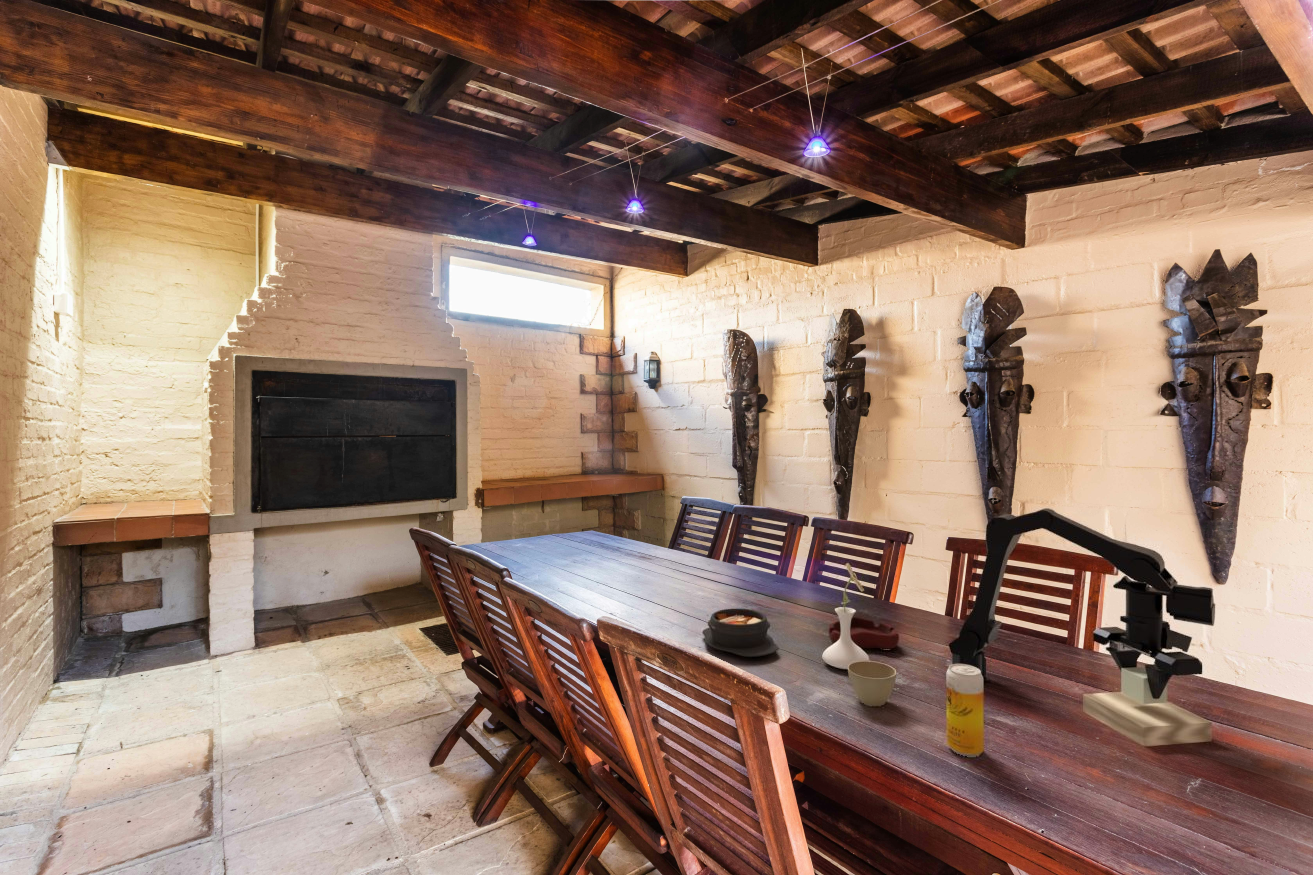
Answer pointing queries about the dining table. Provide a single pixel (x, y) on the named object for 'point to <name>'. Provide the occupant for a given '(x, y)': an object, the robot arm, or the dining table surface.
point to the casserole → (740, 632)
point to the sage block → (1139, 686)
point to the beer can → (965, 710)
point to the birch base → (1147, 720)
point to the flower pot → (872, 681)
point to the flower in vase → (845, 635)
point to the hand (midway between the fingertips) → (1143, 692)
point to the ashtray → (867, 634)
